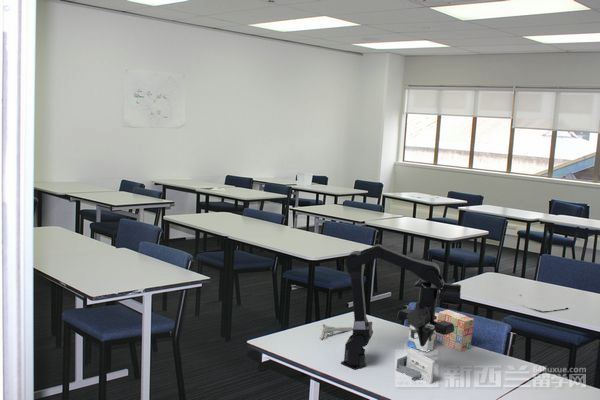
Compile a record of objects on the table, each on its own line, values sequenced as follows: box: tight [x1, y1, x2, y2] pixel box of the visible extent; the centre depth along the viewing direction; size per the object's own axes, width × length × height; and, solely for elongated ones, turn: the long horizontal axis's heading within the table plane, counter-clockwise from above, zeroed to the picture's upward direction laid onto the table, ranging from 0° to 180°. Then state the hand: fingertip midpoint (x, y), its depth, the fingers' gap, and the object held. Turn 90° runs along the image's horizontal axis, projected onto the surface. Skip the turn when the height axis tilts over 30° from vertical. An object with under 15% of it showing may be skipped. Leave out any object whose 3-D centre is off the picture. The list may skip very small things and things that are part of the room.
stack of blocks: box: [434, 309, 475, 352], centre depth 233 cm, size 21×6×12 cm, turn 40°
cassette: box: [406, 348, 436, 384], centre depth 197 cm, size 12×2×8 cm, turn 32°
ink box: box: [407, 320, 435, 351], centre depth 223 cm, size 8×5×12 cm, turn 47°
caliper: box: [319, 323, 353, 341], centre depth 231 cm, size 20×1×6 cm, turn 137°
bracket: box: [395, 355, 421, 382], centre depth 199 cm, size 9×9×4 cm
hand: (422, 345), depth 196 cm, fingers closed
